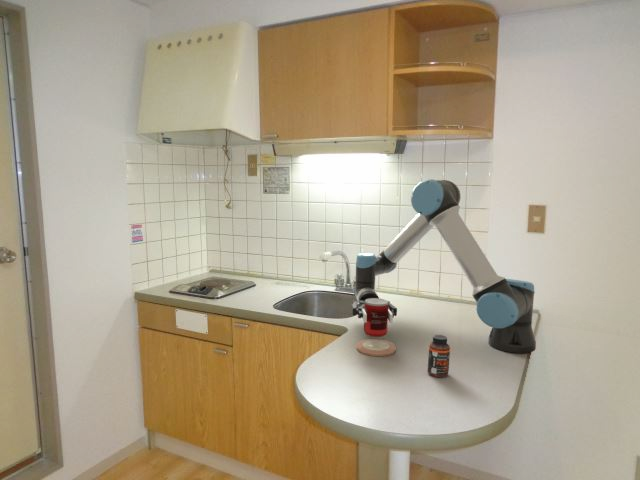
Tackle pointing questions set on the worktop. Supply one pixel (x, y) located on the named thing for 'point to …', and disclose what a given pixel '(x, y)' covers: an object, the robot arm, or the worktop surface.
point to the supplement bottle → (439, 356)
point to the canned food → (376, 317)
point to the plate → (376, 347)
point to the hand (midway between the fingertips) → (378, 318)
